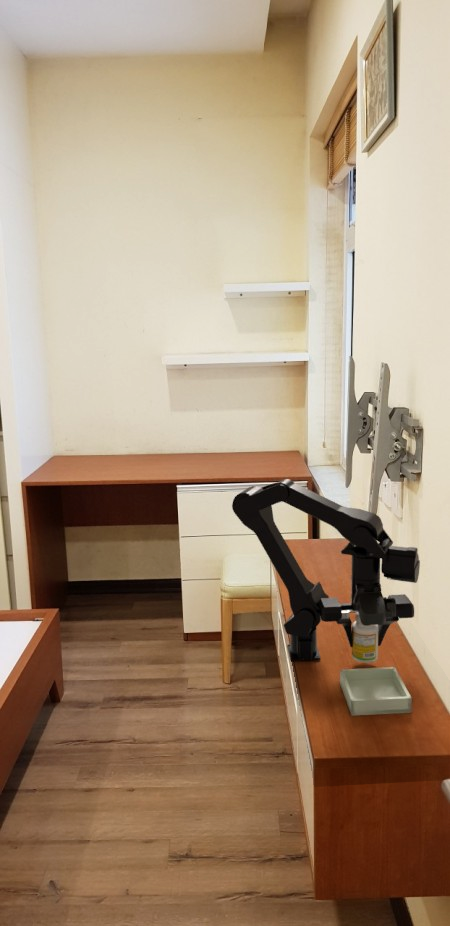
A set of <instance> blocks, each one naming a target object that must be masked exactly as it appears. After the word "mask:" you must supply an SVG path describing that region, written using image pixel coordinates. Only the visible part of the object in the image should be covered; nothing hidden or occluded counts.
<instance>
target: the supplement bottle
mask: <svg viewBox="0 0 450 926" xmlns="http://www.w3.org/2000/svg"><path fill="white" fill-rule="evenodd" d="M354 618H355V621H354V622H352V624H351V629H352V638H353V647H351V656H352V658H353V660H355V661H356V662H360V663H364V664H365V663H366V664H370V663H371V664H372V663H375V662H376V661H377V660H378V657H379V646H378V625H369V626H365V625H363V624H362V623H361V621H360V616H359V613H358V612H355V617H354Z"/></svg>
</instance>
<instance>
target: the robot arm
mask: <svg viewBox="0 0 450 926" xmlns="http://www.w3.org/2000/svg"><path fill="white" fill-rule="evenodd" d="M278 503H285V504H287V505H288V506H291V507H293V508H295V509H297V510H299V511H301V512H303V513H305V514H307V515H309V516H311V517H314V518H315V519H318V520H320V522H323V523H325V524H327V525H329V526H331V527H333V528H334V529H335V530H336V531H337V532H338V533H339V534H340V535H341V537H343V538H344V539H346V540H347V541H348V543H347V544H346V545H344V547H343V548H342V549H341V551H340V553H341V555H345V556H346V555H348V556H350V559H351V561H350V563H351V564H350V566H351V567H350V569H351V572H350V574H351V575H350V580H351V582H350V583H351V584H350V592H351V593H350V599H351V600H350V602H347V603H346V602H343V603H340V601H339V600H338V597H330V596H329V595H328V594H327V593H326V592H325V590H324V588H323V586H322V584H321V582H320V581H317V582H315V584H314V582H311V581H310V580H309V579H308V578H307V577H306V575H305V574H304V572H303V570H302V568H301V567H300V565H299V562H298V561H297V559H296V557H295V556H294V554H293V553H292V551H291V549H290V547H289V546H288V544H287V542H286V540H285V538H284V537H283V535H282V534H281V531H280V530H279V528H278V526H277V525H276V522H275V520H274V519H275V518H274V512H273V505H276V504H278ZM231 508H232V511H233V513H234V514H235V516H236V517H237V518H238V519H239V521H240V522H241V523H242V524H243V525H244V526H245V527H246V528H247V529H248V530H251V531H252V532H253V534H255V535H256V537H257V539H258V541H259V542H260V544H261V546H262V548H263V550H264V552H265V553H266V554H267V557H268V558H269V560H270V562H271V564H272V565H273V567H274V569H275V570H276V572H277V575H278V576H279V578H280V579H281V582H282V583H283V584H284V586H285V589H286V590H287V592H288V599H289V607H290V610H291V612H292V614H291V615H290V616H289V617H288V619H287V620H286V621H285V623H284V624H283V628H284V631H285V633H286V635H289V644H287V645H286V648H287V652H288V655H289V656H288V657H289V660H290V661H291V662H296V661H318V660H321V655H320V654H321V653H320V651H319V648H318V645H317V640H318V639H317V626H319V624H320V622H321V621H322V622H329V623H330V622H335V623H336V624H338V625H342V626H343V630H344V632H345V635H346V638H347V641H348V644H349V647H350V648H352V647H353V638H352V624H353V622H352V619H351V617H350V613H351V614H352V613H355V614H356V612H358V613H359V616H360V621H361V623H362V624H363V625H365V626H369V625H378V647H381V645H382V642H383V641H384V638H385V636H386V633H387V631H388V629H389V627H390V626H391V625H392V624H393V623H395V622H399V621H400V619H412V618H415V607H414V604H413V602H412V601H411V599H410V598H409V597H408V596H407V595H406V594H388V596H387V597H386V596H383V594H382V584H381V574H383V577H384V578H386V579H387V580H391V581H399V582H404V583H405V582H407V583H413V584H417V583H418V579H419V575H420V566H421V560H420V559H419V558H420V557H419V556H420V555H419V554H418V551H419V549H418V547H415V546H414V547H413V546H409V547H405V546H395V545H393V543H394V541H393V540H392V539H391V537H390V535H389V534H388V533H387V532H386V530H385V529H384V524H383V521H382V518H381V517H380V516H379V515H377V514H376V513H374V512H371V511H367V510H364V509H361V508H357V507H356V508H355V507H347V506H343V505H342V504H339V503H337V502H335V501H333V500H331V499H329V498H327V497H325V496H322V495H320V494H318V493H316V492H314V491H312V490H310V489H309V488H305V487H303V486H301V485H299V484H297V483H296V482H294V481H293V480H292V479H289V478H283V479H281V480H280V481H277V482H273V483H270V484H266V485H264V486H261V487H260V486H257V485H255V486H254V485H252V486H250V487H247V488H246V489H244V490H242V491H241V492H239V493H238V494H236V495H235V496H234V498H233V501H232V504H231Z"/></svg>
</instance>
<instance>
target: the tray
mask: <svg viewBox="0 0 450 926" xmlns="http://www.w3.org/2000/svg"><path fill="white" fill-rule="evenodd" d="M339 686H340V687H341V690H342V693H343V696H344V698H345V701H346V705H347V707H348V710H349V714H350V715H351V717H352V716H371V715H390V714H391V715H392V714H409V713H410V714H411V713H412V696H411V694H410V693H409V691H408V689H407V687H406V685H405V683H404V681H403V679H402V678H401V676H400V674H399V672H398V670H397V669H396V667H395V666H391V667H389V666H386V667H385V666H384V667H367V668H349V669H347V668H346V669H339Z"/></svg>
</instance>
